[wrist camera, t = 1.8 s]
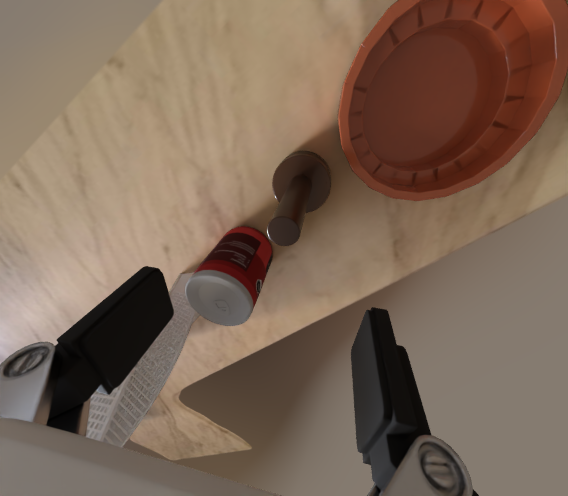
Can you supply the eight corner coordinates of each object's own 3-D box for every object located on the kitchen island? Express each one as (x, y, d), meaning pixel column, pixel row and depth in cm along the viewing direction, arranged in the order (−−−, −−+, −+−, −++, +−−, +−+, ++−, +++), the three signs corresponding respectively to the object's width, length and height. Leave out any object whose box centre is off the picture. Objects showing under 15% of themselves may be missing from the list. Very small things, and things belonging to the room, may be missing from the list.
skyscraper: (211, 263, 36) (0, 540, 13) (228, 296, 40) (86, 560, 17) (172, 268, 39) (-64, 512, 16) (192, 299, 42) (24, 535, 19)
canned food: (245, 275, 37) (217, 332, 27) (213, 238, 34) (169, 288, 24) (284, 258, 33) (266, 317, 24) (252, 215, 30) (218, 263, 21)
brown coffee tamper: (275, 202, 29) (241, 261, 18) (278, 148, 25) (237, 181, 14) (325, 208, 28) (321, 274, 17) (335, 153, 24) (337, 193, 14)
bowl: (327, 176, 26) (325, 190, 22) (357, -9, 18) (365, -43, 14) (463, 191, 24) (490, 209, 20) (565, -7, 16) (645, -44, 12)
